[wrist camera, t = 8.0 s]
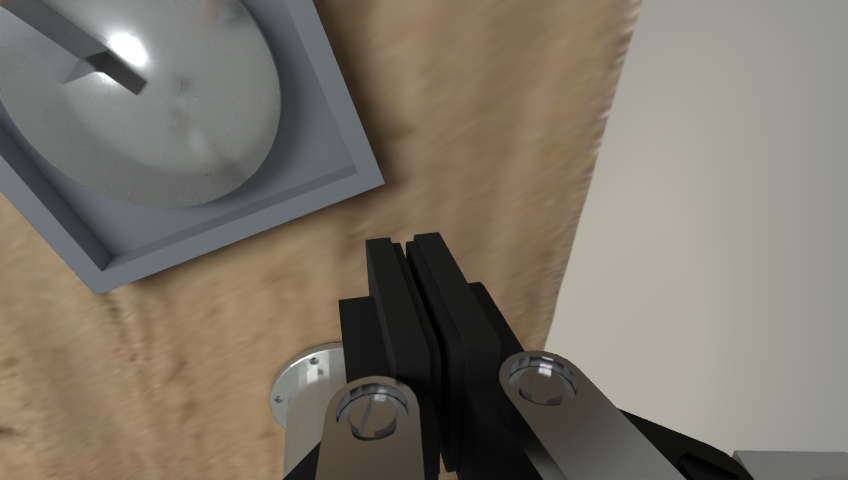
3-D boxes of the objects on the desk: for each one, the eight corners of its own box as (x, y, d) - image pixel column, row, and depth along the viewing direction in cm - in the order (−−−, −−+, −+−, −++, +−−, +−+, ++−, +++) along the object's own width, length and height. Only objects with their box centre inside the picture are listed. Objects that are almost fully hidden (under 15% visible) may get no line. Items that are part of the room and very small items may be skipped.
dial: (328, 75, 30) (332, 93, 25) (200, 234, 34) (180, 278, 29) (93, -131, 23) (32, -164, 18) (-41, 95, 27) (-124, 121, 22)
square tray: (379, 169, 36) (384, 183, 33) (111, 273, 35) (95, 295, 32) (235, -196, 24) (226, -218, 22) (-167, -52, 24) (-225, -57, 21)
